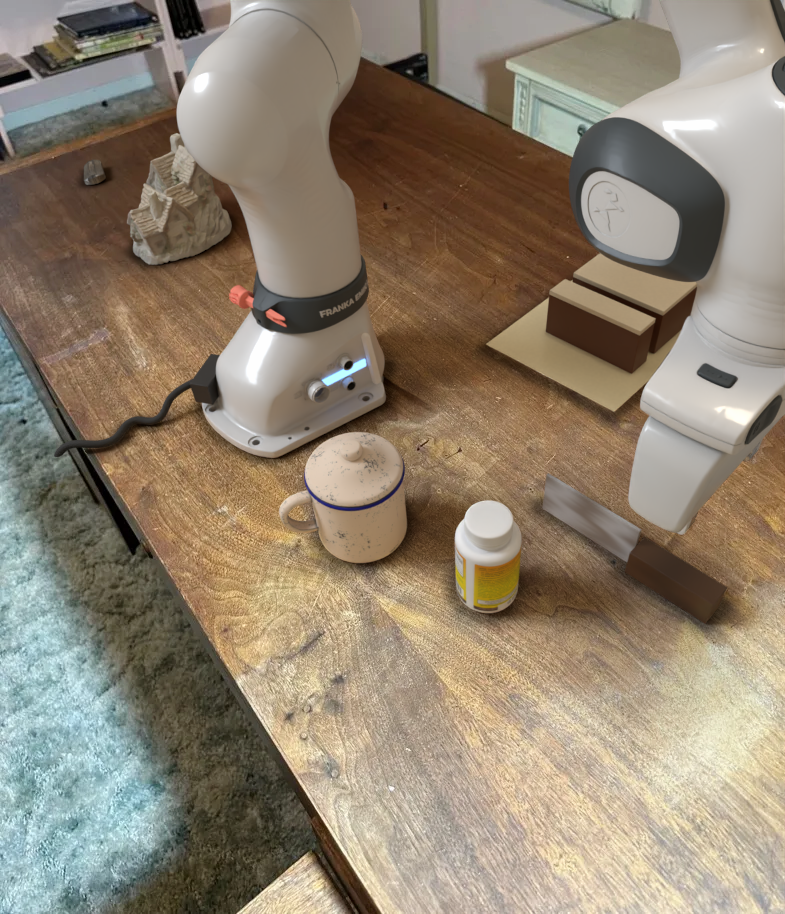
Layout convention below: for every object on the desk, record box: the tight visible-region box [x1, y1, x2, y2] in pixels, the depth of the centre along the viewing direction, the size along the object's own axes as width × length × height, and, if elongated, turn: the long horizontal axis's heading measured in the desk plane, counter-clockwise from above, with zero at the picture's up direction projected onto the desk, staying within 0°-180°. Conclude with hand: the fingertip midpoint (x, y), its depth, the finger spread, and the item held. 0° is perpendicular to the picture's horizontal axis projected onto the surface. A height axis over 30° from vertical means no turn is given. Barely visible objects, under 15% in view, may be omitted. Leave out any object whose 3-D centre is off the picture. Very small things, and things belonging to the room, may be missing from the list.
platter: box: [485, 279, 681, 413], centre depth 92 cm, size 23×18×1 cm
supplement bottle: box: [454, 499, 523, 614], centre depth 65 cm, size 6×6×10 cm
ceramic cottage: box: [126, 132, 232, 266], centre depth 111 cm, size 16×16×15 cm
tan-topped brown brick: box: [546, 278, 656, 374], centre depth 88 cm, size 3×12×6 cm, turn 45°
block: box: [83, 159, 107, 186], centre depth 130 cm, size 4×6×2 cm, turn 20°
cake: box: [571, 253, 697, 354], centre depth 91 cm, size 9×12×6 cm
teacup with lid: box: [278, 431, 408, 564], centre depth 70 cm, size 12×9×12 cm
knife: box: [542, 472, 728, 624], centre depth 69 cm, size 18×2×5 cm, turn 45°
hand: (710, 487), depth 58 cm, fingers open, 8 cm apart
